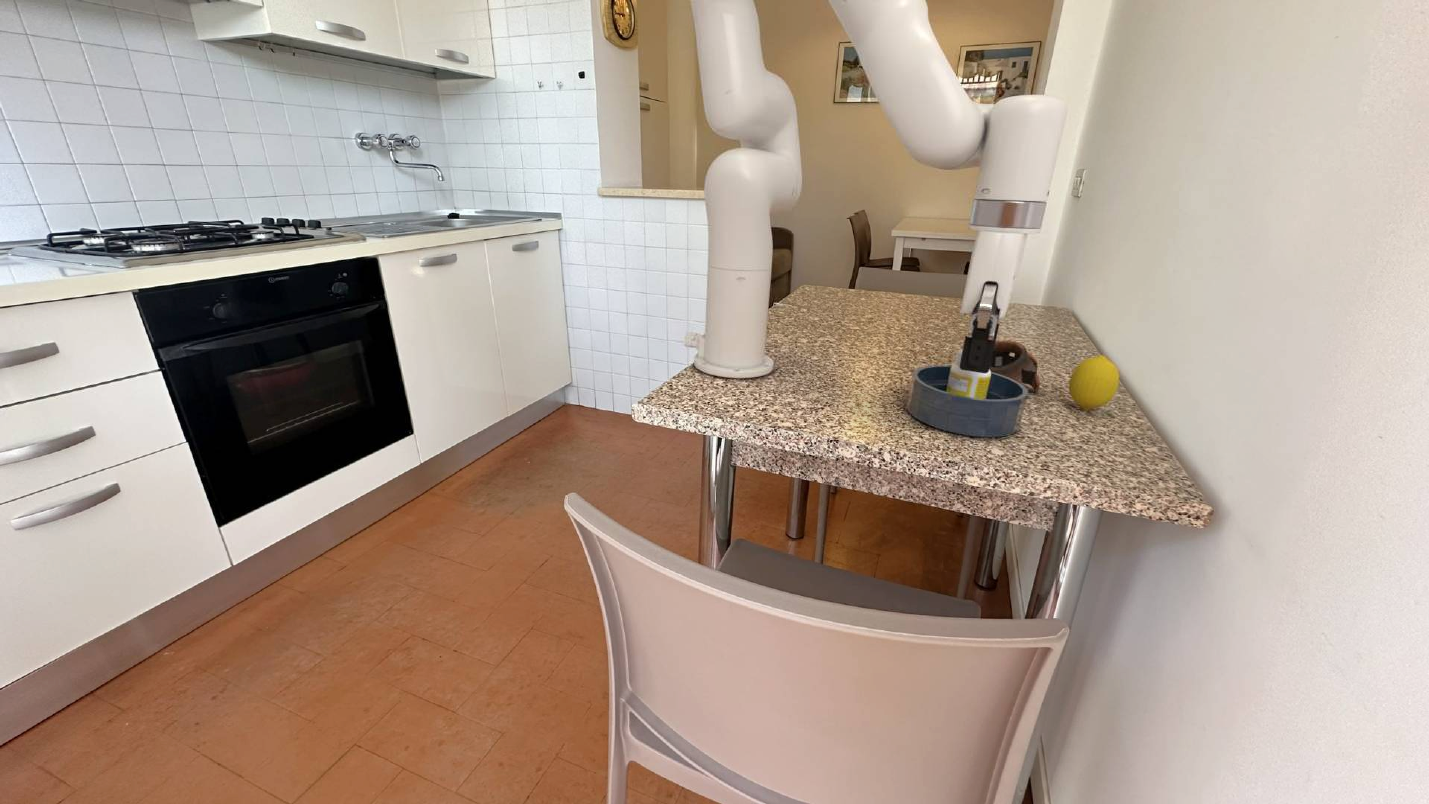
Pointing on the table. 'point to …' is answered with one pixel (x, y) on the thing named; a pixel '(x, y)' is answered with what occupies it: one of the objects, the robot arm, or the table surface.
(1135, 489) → the table surface
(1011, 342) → the pottery mug
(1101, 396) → the lemon
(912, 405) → the bowl
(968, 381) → the supplement bottle
